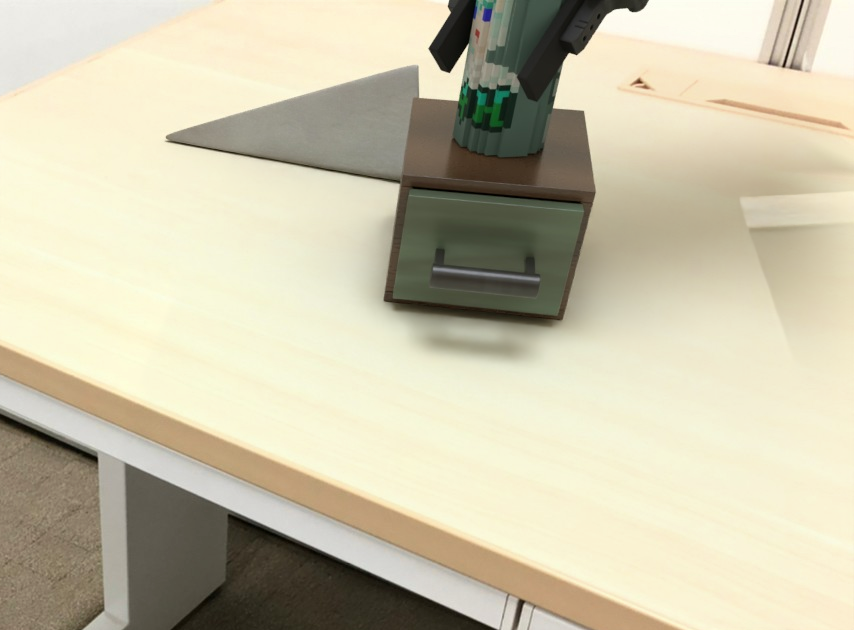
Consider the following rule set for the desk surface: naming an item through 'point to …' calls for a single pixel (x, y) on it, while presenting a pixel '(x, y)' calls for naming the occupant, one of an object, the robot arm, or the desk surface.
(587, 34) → the robot arm
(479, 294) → the drawer
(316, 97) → the grey triangular wedge
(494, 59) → the can
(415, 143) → the cabinet
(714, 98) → the desk surface
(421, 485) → the desk surface
